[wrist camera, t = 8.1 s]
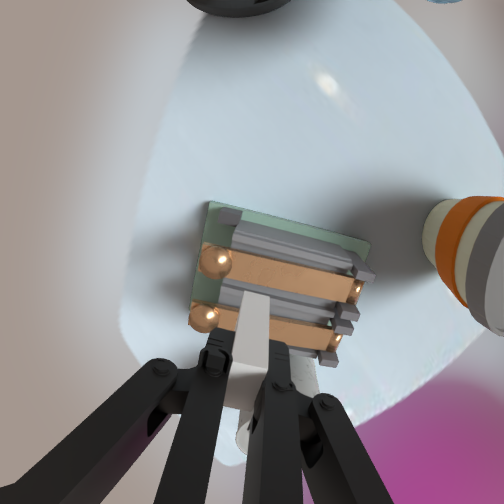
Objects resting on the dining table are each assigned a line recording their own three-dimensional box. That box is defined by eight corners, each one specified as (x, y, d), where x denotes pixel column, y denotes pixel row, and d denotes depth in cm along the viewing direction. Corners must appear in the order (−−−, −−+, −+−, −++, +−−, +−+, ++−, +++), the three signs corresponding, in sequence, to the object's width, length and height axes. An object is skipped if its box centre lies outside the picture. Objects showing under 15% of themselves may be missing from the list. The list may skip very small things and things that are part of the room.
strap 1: (204, 239, 26) (202, 244, 25) (362, 275, 27) (369, 282, 26) (199, 268, 27) (196, 275, 25) (352, 301, 28) (358, 309, 27)
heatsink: (211, 200, 32) (193, 213, 24) (368, 241, 32) (395, 265, 25) (190, 305, 36) (172, 342, 28) (331, 338, 36) (344, 379, 28)
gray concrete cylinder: (329, 365, 38) (346, 433, 26) (282, 404, 40) (284, 471, 28) (275, 329, 36) (277, 398, 24) (230, 373, 39) (217, 442, 27)
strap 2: (193, 295, 28) (190, 303, 26) (343, 325, 29) (347, 334, 27) (189, 320, 29) (186, 329, 27) (333, 347, 30) (337, 356, 28)
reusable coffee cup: (495, 209, 30) (573, 236, 16) (460, 292, 34) (524, 348, 19) (431, 166, 29) (517, 177, 15) (393, 263, 33) (458, 325, 19)
